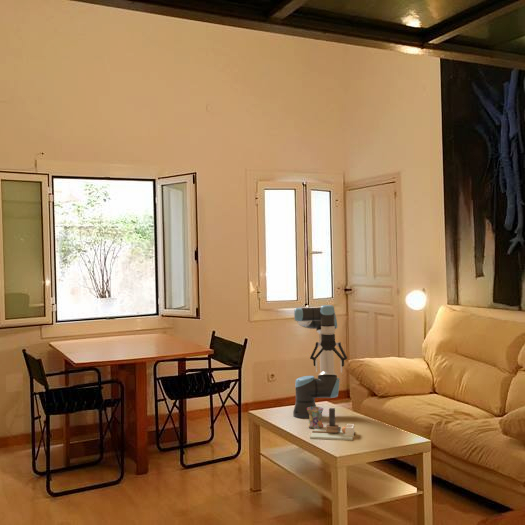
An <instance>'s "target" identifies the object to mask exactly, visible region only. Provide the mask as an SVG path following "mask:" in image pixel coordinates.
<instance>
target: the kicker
mask: <svg viewBox="0 0 525 525" xmlns="http://www.w3.org/2000/svg"><path fill="white" fill-rule="evenodd" d="M328 413H329V414H328V418H329V421H328V422H329V423H327V424H326V426H325V429H326V432H335V433H338V432H340V431H341V430H342V427H341V426H340V425H339V424H336V408H333V407H329V409H328Z"/></svg>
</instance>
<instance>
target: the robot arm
mask: <svg viewBox="0 0 525 525" xmlns="http://www.w3.org/2000/svg"><path fill="white" fill-rule="evenodd" d="M293 314H294V317H293V318H294V321H295V322H297V324H298V325H299V326H300V327H302V328H305V329H310V330H316V333H317V334H318V341H316V342H315V346H314V348H313V351H312V352H311V355H310V356H309V358H310V360H312V361H313V366H314V367H315V373H318V371H320V372H319V373H318V375H317V378H316V377H315V376H314V375H305V376H300V377H298V378H296V379H295V382H294V383H295V386H294V387H295V403H294V404H295V405H294V408H293V411H292V414H293V417H295V418H297V419H298V418H299V419H309V413H308V410H307V408H308V407H317V405H316V399H333V398H335V399H336V398H338V397H339V391H340V390H339V389H340V378H339V377H338V374H337V373H335V357H334V353H335V355H336V356H337V357H338V358H339V359H340V360H339V365H340V374H342V373H343V367H344V366H345V360H348V356H347V354H346V353H345V350H344V348H343V346H342V343H341V341H339V342H336V334H335V333H336V329H338V321H337V316H336V311H335V306H334V305H332V304H324V305H321V306H319V307H295V308H294V312H293ZM336 346H337V347H338V349H339V351H340V352H339V351H338V350H337V348H336ZM318 348H319V349H318ZM317 350H319V351H318V352H317ZM316 352H317V354H316ZM315 354H316V355H315ZM341 354H342V355H341ZM318 357H319V369H320V370H318V359H317V358H318Z"/></svg>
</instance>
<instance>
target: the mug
mask: <svg viewBox="0 0 525 525" xmlns="http://www.w3.org/2000/svg"><path fill="white" fill-rule="evenodd" d="M307 410H308V413H309V418H308V419H309V420H308V424H307V427H309V428H310V429H322V428H323V427H324V424H323V422H322V415H323V411H324V407H323V406H316V407H308V408H307Z"/></svg>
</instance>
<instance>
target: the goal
mask: <svg viewBox="0 0 525 525" xmlns="http://www.w3.org/2000/svg"><path fill="white" fill-rule="evenodd" d="M344 427H345V435H349V436H353V434H354V435H355V433H354V430H355V423H346V426H344ZM353 437H354V436H353Z"/></svg>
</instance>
